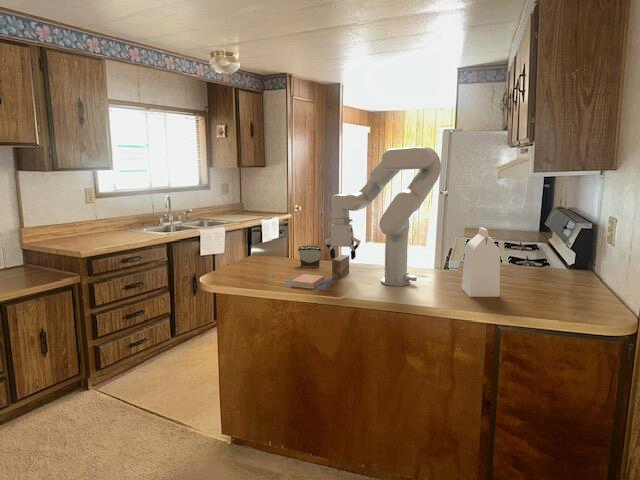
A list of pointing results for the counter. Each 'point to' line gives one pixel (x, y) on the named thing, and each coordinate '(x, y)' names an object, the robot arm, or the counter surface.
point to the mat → (322, 286)
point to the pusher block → (340, 266)
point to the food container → (310, 255)
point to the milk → (481, 266)
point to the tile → (308, 281)
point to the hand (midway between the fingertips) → (343, 258)
